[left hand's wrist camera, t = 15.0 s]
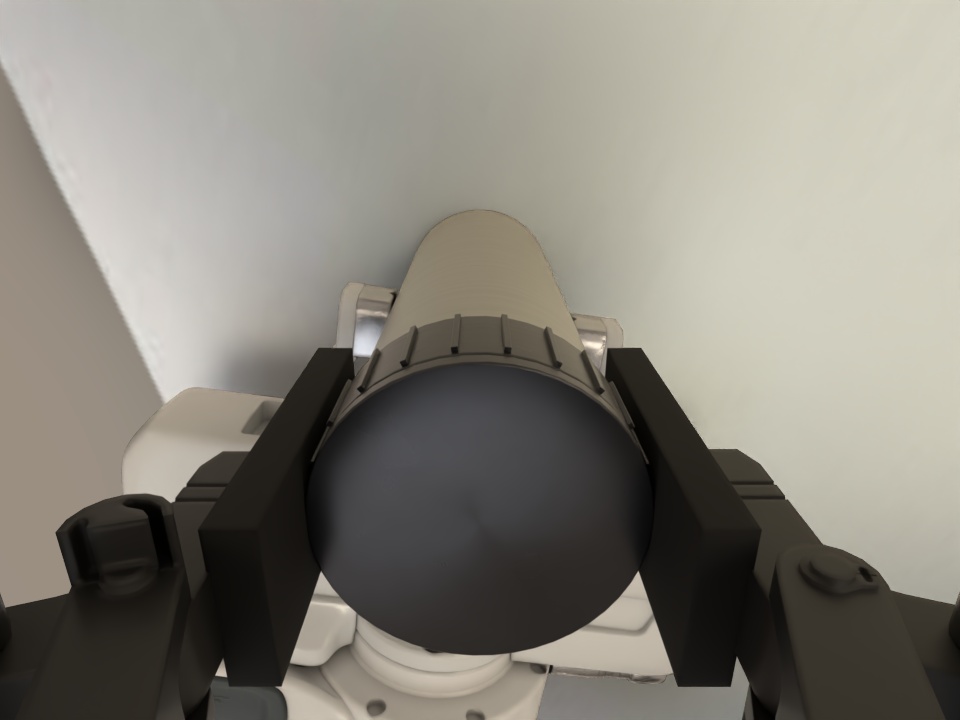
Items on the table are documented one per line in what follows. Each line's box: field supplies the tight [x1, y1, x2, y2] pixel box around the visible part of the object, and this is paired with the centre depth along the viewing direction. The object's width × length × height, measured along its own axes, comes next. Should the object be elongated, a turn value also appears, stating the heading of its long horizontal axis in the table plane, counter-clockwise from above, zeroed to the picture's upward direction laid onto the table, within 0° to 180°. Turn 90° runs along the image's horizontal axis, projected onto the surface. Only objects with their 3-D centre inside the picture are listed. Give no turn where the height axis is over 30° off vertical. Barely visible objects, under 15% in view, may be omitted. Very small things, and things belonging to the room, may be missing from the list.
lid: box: [305, 314, 655, 656], centre depth 11 cm, size 6×6×2 cm
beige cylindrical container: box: [373, 210, 586, 352], centre depth 18 cm, size 5×5×16 cm
